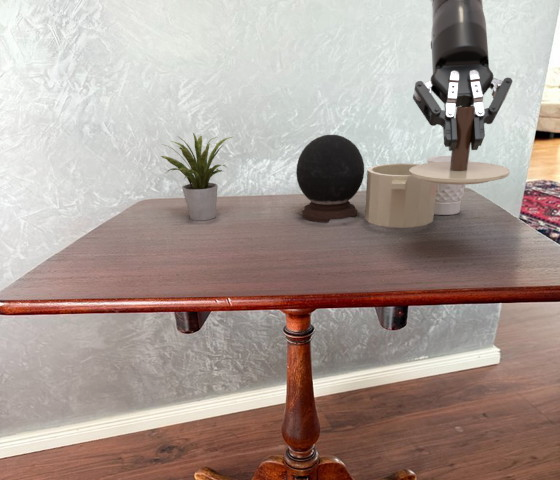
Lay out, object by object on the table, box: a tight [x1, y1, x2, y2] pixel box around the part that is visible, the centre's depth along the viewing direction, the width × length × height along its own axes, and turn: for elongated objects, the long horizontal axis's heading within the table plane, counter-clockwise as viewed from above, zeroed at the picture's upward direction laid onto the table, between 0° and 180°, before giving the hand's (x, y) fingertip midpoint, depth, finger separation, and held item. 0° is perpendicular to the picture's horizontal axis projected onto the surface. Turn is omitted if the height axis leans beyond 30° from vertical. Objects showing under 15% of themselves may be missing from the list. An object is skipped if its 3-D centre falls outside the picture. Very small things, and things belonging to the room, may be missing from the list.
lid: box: [409, 106, 511, 185], centre depth 75 cm, size 14×14×9 cm
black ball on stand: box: [296, 134, 365, 223], centre depth 106 cm, size 13×13×15 cm
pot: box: [364, 163, 437, 229], centre depth 101 cm, size 13×18×10 cm
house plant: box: [160, 132, 233, 222], centre depth 108 cm, size 14×14×16 cm
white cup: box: [426, 155, 471, 216], centre depth 107 cm, size 8×8×10 cm
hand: (464, 146), depth 73 cm, fingers closed on lid, 2 cm apart
